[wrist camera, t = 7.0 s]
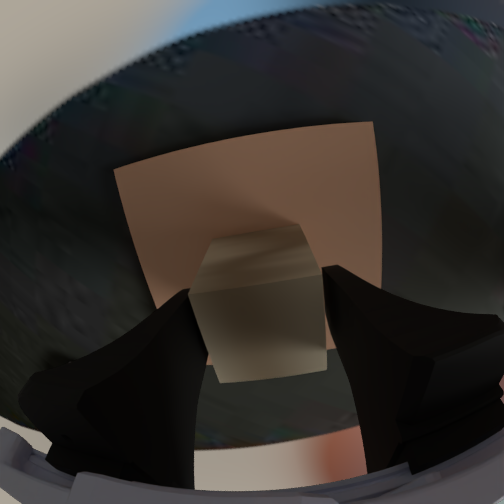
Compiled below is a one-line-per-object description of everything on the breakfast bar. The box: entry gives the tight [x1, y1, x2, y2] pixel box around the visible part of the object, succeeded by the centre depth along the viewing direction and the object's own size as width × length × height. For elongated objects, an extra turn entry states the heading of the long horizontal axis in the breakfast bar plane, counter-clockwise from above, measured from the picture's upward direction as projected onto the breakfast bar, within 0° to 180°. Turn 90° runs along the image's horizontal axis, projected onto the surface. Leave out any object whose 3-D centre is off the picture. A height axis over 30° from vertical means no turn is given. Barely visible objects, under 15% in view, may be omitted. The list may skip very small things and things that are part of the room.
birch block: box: [188, 224, 327, 383], centre depth 11 cm, size 4×4×5 cm
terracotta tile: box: [114, 122, 382, 365], centre depth 14 cm, size 12×12×2 cm
